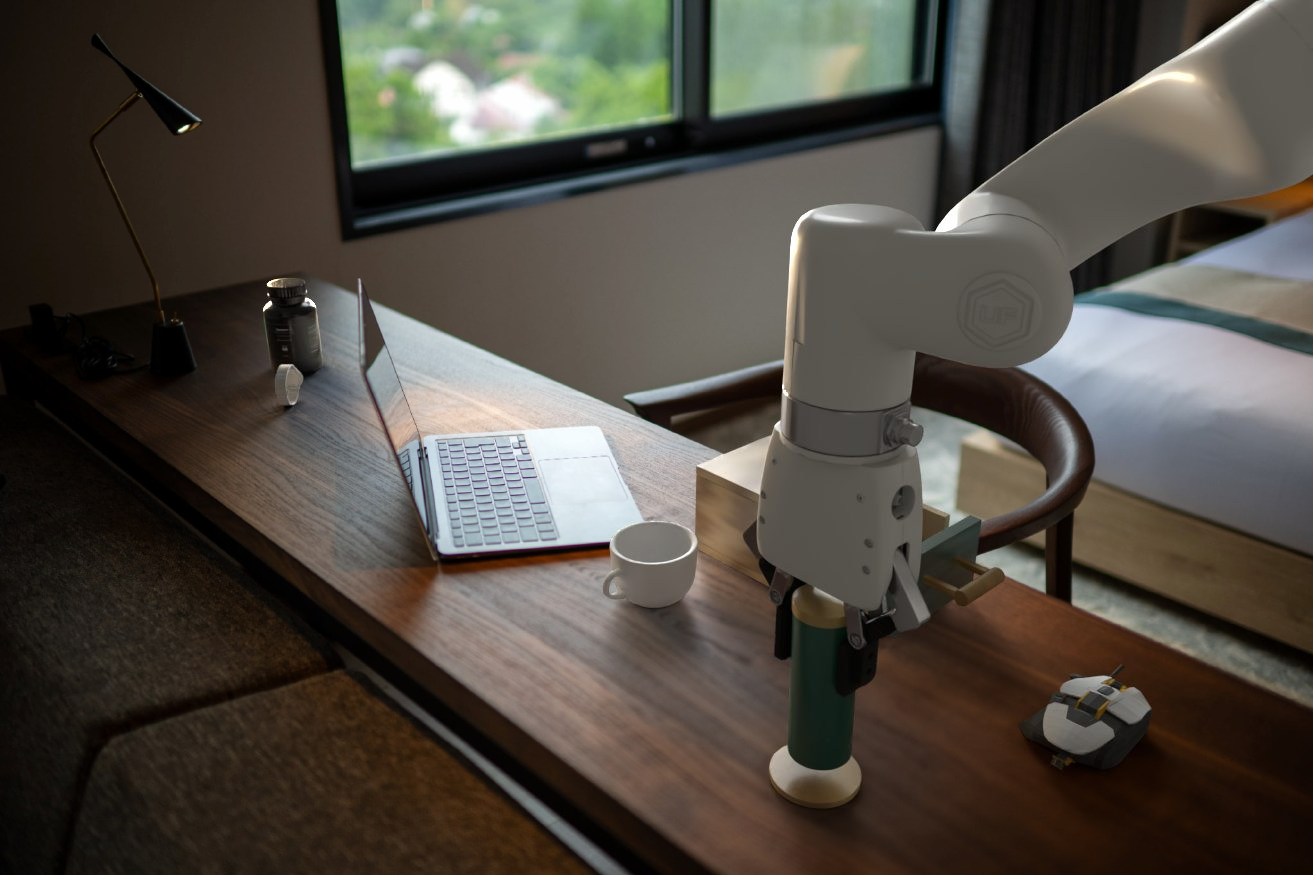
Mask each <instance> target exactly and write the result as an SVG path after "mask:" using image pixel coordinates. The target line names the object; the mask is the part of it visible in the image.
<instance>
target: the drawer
mask: <svg viewBox="0 0 1313 875" xmlns="http://www.w3.org/2000/svg"><path fill="white" fill-rule="evenodd" d="M982 521H983V520H982V519H981V518H979V517H976V516H974V515H972V514H970V515H968V516H965V517H964V518H962V519H960V520H959V521H957V522H954V524H951V525H950V522H951V513H947V512H945V511H943V510H941V509H938V508H935V507H933V506H931V505H928V504H926V503H923V527H922V549H921V562H920V571H919V578H918V582H917V585H918V588H919V590H920V592H921V594H922V597H923V599H924V601H925V603H926V606H927V608H928V610H929V612H930V615H932V614H934V613H935V612H936V611H938V610H939V609H941V608H943V607H944V606H946V605H947V604H949V603H951V602H952V601H954V603H955V604H956V605H958V606H959V607H967V606H968V605H970V604H972V603H973V602H974V601H976V600H978V599H979V598H981V597H982V596H984V595H985V594H987V593H988V592H990V591H991V590H993V589H994V588H996V587H997V586H999V585H1000V584H1002V583H1004V581H1005V578H1006V575H1005V572H1004V570H1002V569H1001V568H1000V567H997V566H994V567H991V568H990V569H989V568H987V567H985V566H983V565H980V564H978V563H977V557H978V556H977V555H978V549H979V541H980V535H981V529H982ZM975 574H976V575H978V576H977V577H976V578H974V577H975V576H974V575H975ZM886 599H887V608H888V611H890V610H892V609H894V608H896V606H895V603H894V601H893V599H892V597H891V594H890V592H889V590H888V589H887V592H886ZM865 615H868V611H867V610H865ZM902 633H903V632H900V633H893V634H890V635H888V637H890V638H892V639H894V638H896V637H898V636H899V635H901V634H902Z"/></svg>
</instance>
